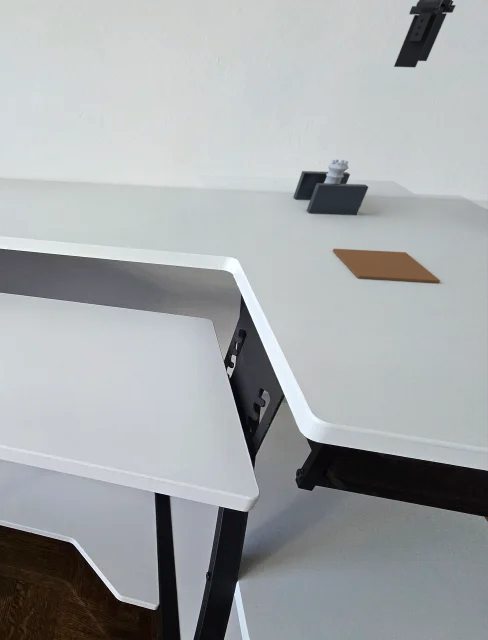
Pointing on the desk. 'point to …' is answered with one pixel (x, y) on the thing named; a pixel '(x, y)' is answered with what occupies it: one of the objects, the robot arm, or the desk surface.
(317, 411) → the desk surface
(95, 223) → the desk surface
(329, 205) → the stand
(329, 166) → the rook chess piece
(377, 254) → the mat
